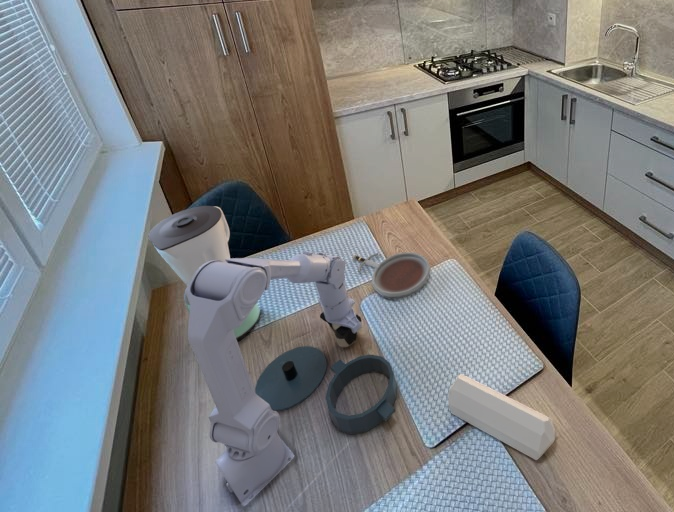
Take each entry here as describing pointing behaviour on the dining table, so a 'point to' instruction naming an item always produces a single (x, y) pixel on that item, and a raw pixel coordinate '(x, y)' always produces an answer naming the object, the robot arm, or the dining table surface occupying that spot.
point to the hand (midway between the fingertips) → (345, 336)
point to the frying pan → (398, 274)
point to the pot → (344, 376)
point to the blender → (196, 248)
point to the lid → (291, 377)
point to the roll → (339, 337)
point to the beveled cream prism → (501, 417)
